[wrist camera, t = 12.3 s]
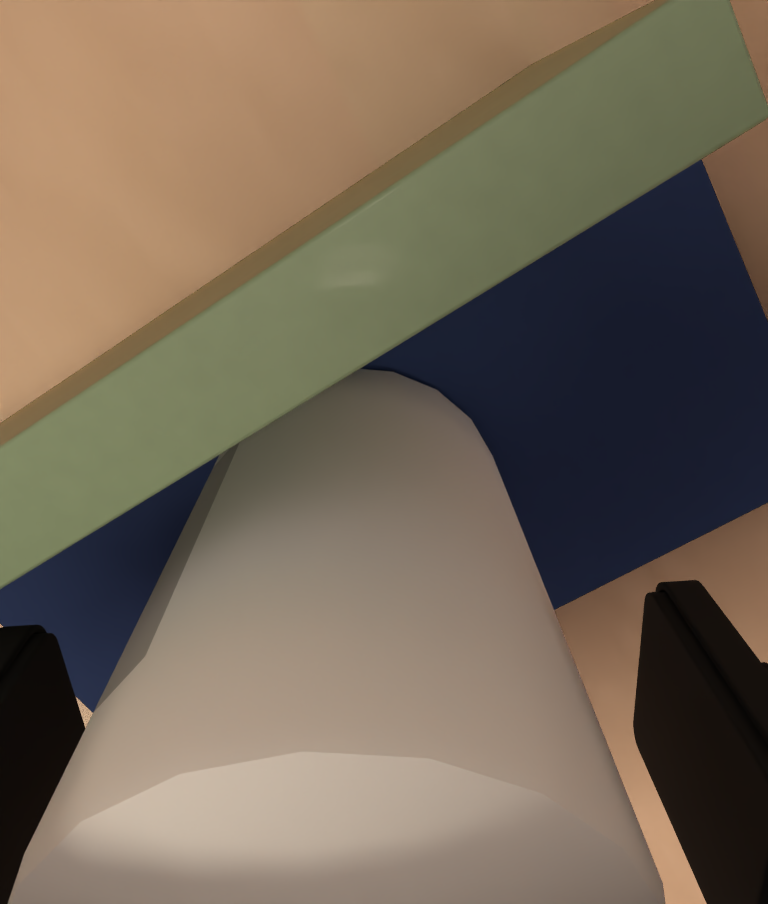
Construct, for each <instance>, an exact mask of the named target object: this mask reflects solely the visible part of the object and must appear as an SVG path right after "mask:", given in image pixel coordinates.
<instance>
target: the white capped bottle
mask: <svg viewBox="0 0 768 904" xmlns="http://www.w3.org/2000/svg"><path fill="white" fill-rule="evenodd" d="M8 904H665V897H664V890H663V883H662V880H661V878H660V875H659V873H658V870H657V868H656V865H655V863H654V860H653V858H652V855H651V853H650V850H649V848H648V845H647V843H646V840H645V838H644V835H643V833H642V830H641V828H640V825H639V823H638V820H637V818H636V815H635V813H634V810H633V808H632V805H631V803H630V800H629V797H628V795H627V792H626V790H625V787H624V785H623V782H622V780H621V777H620V775H619V772H618V770H617V767H616V765H615V762H614V760H613V757H612V755H611V752H610V750H609V747H608V745H607V742H606V740H605V737H604V735H603V732H602V730H601V727H600V725H599V722H598V720H597V717H596V715H595V712H594V710H593V707H592V704H591V702H590V699H589V697H588V694H587V692H586V689H585V687H584V684H583V682H582V679H581V677H580V674H579V672H578V669H577V667H576V664H575V662H574V659H573V657H572V654H571V652H570V649H569V647H568V644H567V642H566V639H565V637H564V634H563V632H562V629H561V627H560V624H559V622H558V619H557V616H556V614H555V611H554V609H553V606H552V604H551V601H550V599H549V596H548V594H547V591H546V589H545V586H544V584H543V581H542V579H541V576H540V574H539V571H538V569H537V566H536V564H535V561H534V559H533V556H532V554H531V551H530V549H529V546H528V544H527V541H526V539H525V536H524V534H523V531H522V529H521V526H520V523H519V521H518V518H517V516H516V513H515V511H514V508H513V506H512V503H511V501H510V498H509V496H508V493H507V491H506V488H505V486H504V483H503V481H502V478H501V476H500V473H499V471H498V468H497V466H496V463H495V461H494V458H493V456H492V454H491V452H490V451H489V449H488V447H487V445H486V444H485V442H484V440H483V439H482V437H481V435H480V433H479V432H478V430H477V428H476V426H475V425H474V423H473V421H472V420H471V419H470V418H469V417H468V416H467V415H466V414H465V413H463V412H462V411H461V410H460V409H459V408H458V407H456V406H455V405H454V404H453V403H452V402H451V401H449V400H448V399H447V398H446V397H445V396H444V395H442V394H441V393H440V392H439V391H438V390H436V389H434V388H431V387H429V386H427V385H424V384H422V383H419V382H417V381H414V380H412V379H410V378H407V377H405V376H402V375H400V374H397V373H395V372H390V371H379V370H367V369H359V370H357V371H355V372H354V373H352V374H350V375H349V376H347V377H346V378H344V379H342V380H341V381H339V382H337V383H336V384H334V385H333V386H331V387H329V388H328V389H326V390H324V391H323V392H321V393H319V394H318V395H316V396H315V397H313V398H311V399H310V400H308V401H306V402H305V403H303V404H302V405H300V406H298V407H297V408H295V409H293V410H292V411H290V412H289V413H287V414H285V415H284V416H282V417H280V418H279V419H277V420H275V421H274V422H272V423H271V424H269V425H267V426H266V427H264V428H262V429H261V430H259V431H258V432H256V433H254V434H253V435H251V436H249V437H248V438H246V439H244V440H243V441H241V442H240V443H238V444H236V445H235V446H233V447H231V448H230V449H228V450H227V451H225V452H223V453H222V454H220V455H219V457H218V459H217V461H216V463H215V465H214V467H213V469H212V471H211V473H210V475H209V477H208V479H207V481H206V483H205V485H204V488H203V490H202V492H201V494H200V496H199V498H198V500H197V502H196V504H195V506H194V508H193V510H192V512H191V514H190V516H189V518H188V520H187V522H186V524H185V526H184V528H183V530H182V532H181V535H180V537H179V539H178V541H177V543H176V545H175V547H174V549H173V551H172V553H171V555H170V557H169V559H168V561H167V563H166V565H165V567H164V569H163V571H162V573H161V575H160V577H159V579H158V581H157V584H156V586H155V588H154V590H153V592H152V594H151V596H150V598H149V600H148V602H147V604H146V606H145V608H144V610H143V612H142V614H141V616H140V618H139V620H138V622H137V624H136V626H135V628H134V631H133V633H132V635H131V637H130V639H129V641H128V643H127V645H126V647H125V649H124V651H123V653H122V655H121V657H120V659H119V661H118V663H117V665H116V667H115V669H114V671H113V673H112V675H111V678H110V680H109V682H108V684H107V686H106V688H105V690H104V692H103V694H102V696H101V698H100V700H99V702H98V704H97V706H96V708H95V710H94V712H93V714H92V716H91V718H90V720H89V722H88V724H87V727H86V729H85V731H84V733H83V735H82V737H81V739H80V741H79V743H78V745H77V747H76V749H75V751H74V753H73V755H72V757H71V759H70V761H69V763H68V765H67V767H66V769H65V771H64V774H63V776H62V778H61V780H60V782H59V784H58V786H57V788H56V790H55V792H54V794H53V796H52V798H51V800H50V802H49V804H48V806H47V808H46V810H45V812H44V814H43V816H42V818H41V821H40V823H39V825H38V827H37V829H36V831H35V833H34V835H33V837H32V839H31V841H30V843H29V845H28V847H27V849H26V851H25V853H24V856H23V859H22V862H21V865H20V868H19V871H18V874H17V877H16V880H15V883H14V886H13V889H12V892H11V895H10V898H9V901H8Z"/></svg>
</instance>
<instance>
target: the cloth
mask: <svg viewBox="0 0 768 904" xmlns="http://www.w3.org/2000/svg"><path fill="white" fill-rule="evenodd" d="M360 369H367V370H379V371H390V372H395V373H397V374H400V375H402V376H405V377H407V378H410V379H412V380H414V381H417V382H419V383H422V384H424V385H427V386H429V387H431V388H434V389H436V390H438V391H439V392H440V393H441V394H442V395H444V396H445V397H446V398H447V399H448V400H449V401H451V402H452V403H453V404H454V405H455V406H456V407H458V408H459V409H460V410H461V411H462V412H463V413H465V414H466V415H467V416H468V417H469V418H470V419H471V420H472V421H473V423H474V425H475V426H476V428H477V430H478V432H479V433H480V435H481V437H482V439H483V440H484V442H485V444H486V445H487V447H488V449H489V451H490V452H491V454H492V456H493V458H494V461H495V463H496V466H497V468H498V471H499V473H500V476H501V478H502V481H503V483H504V486H505V488H506V491H507V493H508V496H509V498H510V501H511V503H512V506H513V508H514V511H515V513H516V516H517V518H518V521H519V523H520V526H521V529H522V531H523V534H524V536H525V539H526V541H527V544H528V546H529V549H530V551H531V554H532V556H533V559H534V561H535V564H536V566H537V569H538V571H539V574H540V576H541V579H542V581H543V584H544V586H545V589H546V591H547V594H548V596H549V599H550V601H551V604H552V606H553V609H554V610H555V609H557V608H559V607H561V606H563V605H565V604H567V603H569V602H571V601H573V600H575V599H577V598H579V597H581V596H583V595H585V594H587V593H589V592H591V591H593V590H595V589H597V588H599V587H601V586H603V585H605V584H607V583H609V582H611V581H613V580H615V579H617V578H619V577H621V576H623V575H625V574H626V573H628V572H630V571H632V570H634V569H636V568H638V567H640V566H642V565H644V564H646V563H648V562H650V561H652V560H654V559H656V558H658V557H660V556H662V555H664V554H666V553H668V552H670V551H672V550H674V549H676V548H678V547H680V546H682V545H684V544H686V543H688V542H690V541H692V540H694V539H696V538H698V537H700V536H702V535H704V534H706V533H708V532H710V531H712V530H714V529H716V528H718V527H720V526H722V525H724V524H726V523H728V522H730V521H732V520H734V519H736V518H738V517H740V516H742V515H744V514H746V513H748V512H750V511H752V510H754V509H756V508H758V507H760V506H762V505H764V504H766V503H768V321H767V319H766V316H765V314H764V311H763V309H762V306H761V304H760V302H759V299H758V297H757V294H756V292H755V289H754V287H753V284H752V282H751V279H750V277H749V275H748V272H747V270H746V267H745V265H744V262H743V260H742V257H741V255H740V253H739V250H738V248H737V245H736V243H735V240H734V238H733V235H732V233H731V231H730V228H729V226H728V223H727V221H726V218H725V216H724V213H723V211H722V208H721V206H720V204H719V201H718V199H717V196H716V194H715V191H714V189H713V186H712V184H711V182H710V179H709V177H708V174H707V172H706V169H705V167H704V164H703V162H702V160H699V161H698V162H696V163H694V164H693V165H691V166H690V167H688V168H686V169H685V170H683V171H681V172H680V173H678V174H676V175H675V176H673V177H672V178H670V179H668V180H667V181H665V182H663V183H662V184H660V185H659V186H657V187H655V188H654V189H652V190H650V191H649V192H647V193H645V194H644V195H642V196H641V197H639V198H637V199H636V200H634V201H632V202H631V203H629V204H628V205H626V206H624V207H623V208H621V209H619V210H618V211H616V212H615V213H613V214H611V215H610V216H608V217H606V218H605V219H603V220H601V221H600V222H598V223H597V224H595V225H593V226H592V227H590V228H588V229H587V230H585V231H584V232H582V233H580V234H579V235H577V236H575V237H574V238H572V239H571V240H569V241H567V242H566V243H564V244H562V245H561V246H559V247H557V248H556V249H554V250H553V251H551V252H549V253H548V254H546V255H544V256H543V257H541V258H540V259H538V260H536V261H535V262H533V263H531V264H530V265H528V266H527V267H525V268H523V269H522V270H520V271H518V272H517V273H515V274H513V275H512V276H510V277H509V278H507V279H505V280H504V281H502V282H500V283H499V284H497V285H496V286H494V287H492V288H491V289H489V290H487V291H486V292H484V293H482V294H481V295H479V296H478V297H476V298H474V299H473V300H471V301H469V302H468V303H466V304H465V305H463V306H461V307H460V308H458V309H456V310H455V311H453V312H452V313H450V314H448V315H447V316H445V317H443V318H442V319H440V320H438V321H437V322H435V323H434V324H432V325H430V326H429V327H427V328H425V329H424V330H422V331H421V332H419V333H417V334H416V335H414V336H412V337H411V338H409V339H408V340H406V341H404V342H403V343H401V344H399V345H398V346H396V347H394V348H393V349H391V350H390V351H388V352H386V353H385V354H383V355H381V356H380V357H378V358H377V359H375V360H373V361H372V362H370V363H368V364H367V365H365V366H363V367H362V368H360ZM218 457H219V455H218V456H217V457H215V458H214V459H212V460H210V461H209V462H207V463H205V464H204V465H202V466H200V467H199V468H197V469H196V470H194V471H192V472H191V473H189V474H187V475H186V476H184V477H183V478H181V479H179V480H178V481H176V482H174V483H173V484H171V485H170V486H168V487H166V488H165V489H163V490H161V491H160V492H158V493H156V494H155V495H153V496H152V497H150V498H148V499H147V500H145V501H143V502H142V503H140V504H139V505H137V506H135V507H134V508H132V509H130V510H129V511H127V512H126V513H124V514H122V515H121V516H119V517H117V518H116V519H114V520H112V521H111V522H109V523H108V524H106V525H104V526H103V527H101V528H99V529H98V530H96V531H95V532H93V533H91V534H90V535H88V536H86V537H85V538H83V539H81V540H80V541H78V542H77V543H75V544H73V545H72V546H70V547H68V548H67V549H65V550H64V551H62V552H60V553H59V554H57V555H55V556H54V557H52V558H51V559H49V560H47V561H46V562H44V563H42V564H41V565H39V566H37V567H36V568H34V569H33V570H31V571H29V572H28V573H26V574H24V575H23V576H21V577H20V578H18V579H16V580H15V581H13V582H11V583H10V584H8V585H7V586H5V587H3V588H2V589H0V624H1V625H2V626H3V627H7V626H22V625H37V624H38V625H41V626H42V627H43V628H44V629H45V630H46V632H47V633H53V634H54V635H55V636H56V638H57V640H58V643H59V646H60V649H61V652H62V656H63V659H64V662H65V665H66V668H67V672H68V675H69V678H70V681H71V684H72V688H73V691H74V694H75V696H76V697H77V698H78V699H79V700H80V701H81V702H82V703H83V704H84V705H85V706H86V707H87V708H89V709H90V710H91V711H92V712H94V710H95V708H96V706H97V704H98V702H99V700H100V698H101V696H102V694H103V692H104V690H105V688H106V686H107V684H108V682H109V680H110V678H111V675H112V673H113V671H114V669H115V667H116V665H117V663H118V661H119V659H120V657H121V655H122V653H123V651H124V649H125V647H126V645H127V643H128V641H129V639H130V637H131V635H132V633H133V631H134V628H135V626H136V624H137V622H138V620H139V618H140V616H141V614H142V612H143V610H144V608H145V606H146V604H147V602H148V600H149V598H150V596H151V594H152V592H153V590H154V588H155V586H156V584H157V581H158V579H159V577H160V575H161V573H162V571H163V569H164V567H165V565H166V563H167V561H168V559H169V557H170V555H171V553H172V551H173V549H174V547H175V545H176V543H177V541H178V539H179V537H180V535H181V532H182V530H183V528H184V526H185V524H186V522H187V520H188V518H189V516H190V514H191V512H192V510H193V508H194V506H195V504H196V502H197V500H198V498H199V496H200V494H201V492H202V490H203V488H204V485H205V483H206V481H207V479H208V477H209V475H210V473H211V471H212V469H213V467H214V465H215V463H216V461H217V459H218Z"/></svg>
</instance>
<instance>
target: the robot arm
mask: <svg viewBox="0 0 768 904" xmlns="http://www.w3.org/2000/svg"><path fill="white" fill-rule="evenodd" d="M633 727H634V735H635V740H636V744H637V746H638V749H639V751H640V754H641V756H642V758H643V760H644V763H645V765H646V767H647V769H648V772H649V774H650V776H651V779H652V781H653V783H654V785H655V788H656V790H657V792H658V794H659V797H660V799H661V801H662V803H663V806H664V808H665V810H666V812H667V815H668V817H669V819H670V821H671V824H672V826H673V828H674V831H675V833H676V835H677V837H678V840H679V842H680V844H681V846H682V849H683V851H684V853H685V855H686V858H687V860H688V862H689V864H690V867H691V869H692V871H693V873H694V876H695V878H696V880H697V883H698V885H699V887H700V889H701V892H702V894H703V896H704V898H705V901H706V903H707V904H768V663H765V662H763V663H761V662H760V661H759V659H758V658H757V657H756V655H755V654H754V653H753V651H752V650H751V649H750V647H749V646H748V645H747V643H746V642H745V641H744V639H743V638H742V637H741V635H740V634H739V633H738V631H737V630H736V629H735V627H734V626H733V625H732V623H731V622H730V621H729V619H728V618H727V617H726V615H725V614H724V613H723V611H722V610H721V609H720V607H719V606H718V605H717V604H716V602H715V601H714V600H713V598H712V597H711V596H710V594H709V593H708V592H707V590H706V589H705V588H704V586H703V585H702V584H701V583H700V582H699V581H697V580H688V581H674V582H661V583H659V584H658V585H657V587H656V592H650V593H647V594H646V596H645V602H644V613H643V624H642V634H641V645H640V656H639V667H638V677H637V688H636V699H635V710H634V721H633ZM84 731H85V726H84V723H83V719H82V716H81V713H80V710H79V707H78V703H77V700H76V697H75V694H74V691H73V688H72V684H71V681H70V678H69V675H68V672H67V668H66V665H65V662H64V659H63V656H62V652H61V649H60V646H59V643H58V640H57V638H56V636H55V635H54V634H53V633H47V632H46V630H45V629H44V628H43V627H42V626H41V625H38V624H37V625H22V626H7V627H2V628H0V904H8V901H9V898H10V895H11V892H12V889H13V886H14V883H15V880H16V877H17V874H18V871H19V868H20V865H21V862H22V859H23V856H24V853H25V851H26V849H27V847H28V845H29V843H30V841H31V839H32V837H33V835H34V833H35V831H36V829H37V827H38V825H39V823H40V821H41V818H42V816H43V814H44V812H45V810H46V808H47V806H48V804H49V802H50V800H51V798H52V796H53V794H54V792H55V790H56V788H57V786H58V784H59V782H60V780H61V778H62V776H63V774H64V771H65V769H66V767H67V765H68V763H69V761H70V759H71V757H72V755H73V753H74V751H75V749H76V747H77V745H78V743H79V741H80V739H81V737H82V735H83V733H84Z"/></svg>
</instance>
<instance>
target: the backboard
mask: <svg viewBox="0 0 768 904" xmlns="http://www.w3.org/2000/svg"><path fill="white" fill-rule="evenodd" d="M767 117H768V105H767V102H766V100H765V97H764V94H763V91H762V89H761V86H760V83H759V80H758V78H757V75H756V72H755V69H754V66H753V64H752V61H751V58H750V55H749V53H748V50H747V47H746V44H745V42H744V39H743V36H742V33H741V31H740V28H739V25H738V22H737V20H736V17H735V14H734V11H733V9H732V6H731V3H730V0H654V1H653V2H651V3H649V4H647V5H645V6H643V7H641V8H639V9H637V10H635V11H633V12H631V13H629V14H628V15H626V16H624V17H622V18H620V19H618V20H616V21H614V22H612V23H610V24H608V25H606V26H604V27H602V28H601V29H599V30H597V31H595V32H593V33H591V34H589V35H587V36H585V37H583V38H581V39H579V40H577V41H576V42H574V43H572V44H570V45H568V46H566V47H564V48H562V49H560V50H558V51H556V52H554V53H552V54H550V55H549V56H547V57H545V58H543V59H541V60H539V61H537V62H535V63H533V64H532V65H530V66H529V67H527V68H526V69H524V70H523V71H521V72H520V73H518V74H517V75H515V76H514V77H512V78H511V79H509V80H508V81H506V82H505V83H504V84H502V85H501V86H499V87H498V88H496V89H495V90H493V91H492V92H490V93H489V94H487V95H486V96H484V97H483V98H481V99H480V100H478V101H477V102H475V103H474V104H472V105H471V106H469V107H468V108H467V109H465V110H464V111H462V112H461V113H459V114H458V115H456V116H455V117H453V118H452V119H450V120H449V121H447V122H446V123H444V124H443V125H441V126H440V127H438V128H437V129H435V130H434V131H432V132H431V133H429V134H428V135H427V136H425V137H424V138H422V139H421V140H419V141H418V142H416V143H415V144H413V145H412V146H410V147H409V148H407V149H406V150H404V151H403V152H401V153H400V154H398V155H397V156H395V157H394V158H392V159H391V160H390V161H388V162H387V163H385V164H384V165H382V166H381V167H379V168H378V169H376V170H375V171H373V172H372V173H370V174H369V175H367V176H366V177H364V178H363V179H361V180H360V181H358V182H357V183H355V184H354V185H352V186H351V187H350V188H348V189H347V190H345V191H344V192H342V193H341V194H339V195H338V196H336V197H335V198H333V199H332V200H330V201H329V202H327V203H326V204H324V205H323V206H321V207H320V208H318V209H317V210H315V211H314V212H313V213H311V214H310V215H308V216H307V217H305V218H304V219H302V220H301V221H299V222H298V223H296V224H295V225H293V226H292V227H290V228H289V229H287V230H286V231H284V232H283V233H281V234H280V235H278V236H277V237H275V238H274V239H273V240H271V241H270V242H268V243H267V244H265V245H264V246H262V247H261V248H259V249H258V250H256V251H255V252H253V253H252V254H250V255H249V256H247V257H246V258H244V259H243V260H241V261H240V262H238V263H237V264H236V265H234V266H233V267H231V268H230V269H228V270H227V271H225V272H224V273H222V274H221V275H219V276H218V277H216V278H215V279H213V280H212V281H210V282H209V283H207V284H206V285H204V286H203V287H201V288H200V289H198V290H197V291H196V292H194V293H193V294H191V295H190V296H188V297H187V298H185V299H184V300H182V301H181V302H179V303H178V304H176V305H175V306H173V307H172V308H170V309H169V310H167V311H166V312H164V313H163V314H161V315H160V316H159V317H157V318H156V319H154V320H153V321H151V322H150V323H148V324H147V325H145V326H144V327H142V328H141V329H139V330H138V331H136V332H135V333H133V334H132V335H130V336H129V337H127V338H126V339H124V340H123V341H121V342H120V343H119V344H117V345H116V346H114V347H113V348H111V349H110V350H108V351H107V352H105V353H104V354H102V355H101V356H99V357H98V358H96V359H95V360H93V361H92V362H90V363H89V364H87V365H86V366H84V367H83V368H82V369H80V370H79V371H77V372H76V373H74V374H73V375H71V376H70V377H68V378H67V379H65V380H64V381H62V382H61V383H59V384H58V385H56V386H55V387H53V388H52V389H50V390H49V391H47V392H46V393H44V394H43V395H42V396H40V397H39V398H37V399H36V400H34V401H33V402H31V403H30V404H28V405H27V406H25V407H24V408H22V409H21V410H19V411H18V412H16V413H15V414H13V415H12V416H10V417H9V418H7V419H6V420H5V421H3V422H2V423H0V589H2V588H3V587H5V586H7V585H8V584H10V583H11V582H13V581H15V580H16V579H18V578H20V577H21V576H23V575H24V574H26V573H28V572H29V571H31V570H33V569H34V568H36V567H37V566H39V565H41V564H42V563H44V562H46V561H47V560H49V559H51V558H52V557H54V556H55V555H57V554H59V553H60V552H62V551H64V550H65V549H67V548H68V547H70V546H72V545H73V544H75V543H77V542H78V541H80V540H81V539H83V538H85V537H86V536H88V535H90V534H91V533H93V532H95V531H96V530H98V529H99V528H101V527H103V526H104V525H106V524H108V523H109V522H111V521H112V520H114V519H116V518H117V517H119V516H121V515H122V514H124V513H126V512H127V511H129V510H130V509H132V508H134V507H135V506H137V505H139V504H140V503H142V502H143V501H145V500H147V499H148V498H150V497H152V496H153V495H155V494H156V493H158V492H160V491H161V490H163V489H165V488H166V487H168V486H170V485H171V484H173V483H174V482H176V481H178V480H179V479H181V478H183V477H184V476H186V475H187V474H189V473H191V472H192V471H194V470H196V469H197V468H199V467H200V466H202V465H204V464H205V463H207V462H209V461H210V460H212V459H214V458H215V457H217V456H218V455H220V454H222V453H223V452H225V451H227V450H228V449H230V448H231V447H233V446H235V445H236V444H238V443H240V442H241V441H243V440H244V439H246V438H248V437H249V436H251V435H253V434H254V433H256V432H258V431H259V430H261V429H262V428H264V427H266V426H267V425H269V424H271V423H272V422H274V421H275V420H277V419H279V418H280V417H282V416H284V415H285V414H287V413H289V412H290V411H292V410H293V409H295V408H297V407H298V406H300V405H302V404H303V403H305V402H306V401H308V400H310V399H311V398H313V397H315V396H316V395H318V394H319V393H321V392H323V391H324V390H326V389H328V388H329V387H331V386H333V385H334V384H336V383H337V382H339V381H341V380H342V379H344V378H346V377H347V376H349V375H350V374H352V373H354V372H355V371H357V370H359V369H360V368H362V367H363V366H365V365H367V364H368V363H370V362H372V361H373V360H375V359H377V358H378V357H380V356H381V355H383V354H385V353H386V352H388V351H390V350H391V349H393V348H394V347H396V346H398V345H399V344H401V343H403V342H404V341H406V340H408V339H409V338H411V337H412V336H414V335H416V334H417V333H419V332H421V331H422V330H424V329H425V328H427V327H429V326H430V325H432V324H434V323H435V322H437V321H438V320H440V319H442V318H443V317H445V316H447V315H448V314H450V313H452V312H453V311H455V310H456V309H458V308H460V307H461V306H463V305H465V304H466V303H468V302H469V301H471V300H473V299H474V298H476V297H478V296H479V295H481V294H482V293H484V292H486V291H487V290H489V289H491V288H492V287H494V286H496V285H497V284H499V283H500V282H502V281H504V280H505V279H507V278H509V277H510V276H512V275H513V274H515V273H517V272H518V271H520V270H522V269H523V268H525V267H527V266H528V265H530V264H531V263H533V262H535V261H536V260H538V259H540V258H541V257H543V256H544V255H546V254H548V253H549V252H551V251H553V250H554V249H556V248H557V247H559V246H561V245H562V244H564V243H566V242H567V241H569V240H571V239H572V238H574V237H575V236H577V235H579V234H580V233H582V232H584V231H585V230H587V229H588V228H590V227H592V226H593V225H595V224H597V223H598V222H600V221H601V220H603V219H605V218H606V217H608V216H610V215H611V214H613V213H615V212H616V211H618V210H619V209H621V208H623V207H624V206H626V205H628V204H629V203H631V202H632V201H634V200H636V199H637V198H639V197H641V196H642V195H644V194H645V193H647V192H649V191H650V190H652V189H654V188H655V187H657V186H659V185H660V184H662V183H663V182H665V181H667V180H668V179H670V178H672V177H673V176H675V175H676V174H678V173H680V172H681V171H683V170H685V169H686V168H688V167H690V166H691V165H693V164H694V163H696V162H698V161H699V160H701V159H703V158H704V157H706V156H707V155H709V154H711V153H712V152H714V151H716V150H717V149H719V148H720V147H722V146H724V145H725V144H727V143H729V142H730V141H732V140H734V139H735V138H737V137H738V136H740V135H742V134H743V133H745V132H747V131H748V130H750V129H751V128H753V127H755V126H756V125H758V124H760V123H761V122H763V121H764V120H766V119H767Z"/></svg>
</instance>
